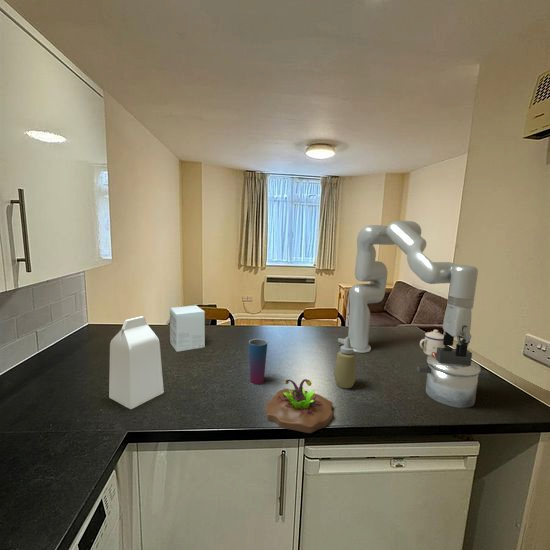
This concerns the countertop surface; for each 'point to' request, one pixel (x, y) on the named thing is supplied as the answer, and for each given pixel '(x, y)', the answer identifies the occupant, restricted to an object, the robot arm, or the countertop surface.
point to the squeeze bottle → (345, 366)
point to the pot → (451, 386)
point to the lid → (453, 362)
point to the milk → (135, 364)
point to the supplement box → (187, 328)
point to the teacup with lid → (432, 342)
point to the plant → (299, 409)
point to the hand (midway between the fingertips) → (453, 350)
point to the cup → (257, 360)
